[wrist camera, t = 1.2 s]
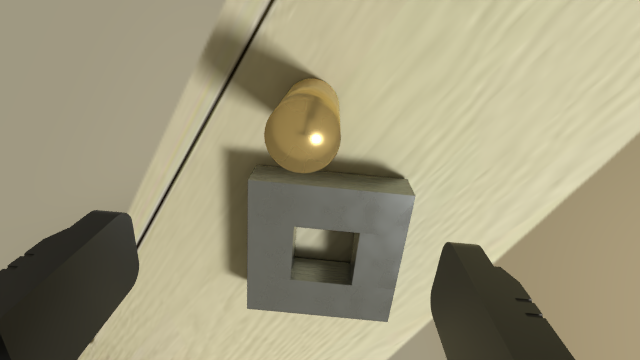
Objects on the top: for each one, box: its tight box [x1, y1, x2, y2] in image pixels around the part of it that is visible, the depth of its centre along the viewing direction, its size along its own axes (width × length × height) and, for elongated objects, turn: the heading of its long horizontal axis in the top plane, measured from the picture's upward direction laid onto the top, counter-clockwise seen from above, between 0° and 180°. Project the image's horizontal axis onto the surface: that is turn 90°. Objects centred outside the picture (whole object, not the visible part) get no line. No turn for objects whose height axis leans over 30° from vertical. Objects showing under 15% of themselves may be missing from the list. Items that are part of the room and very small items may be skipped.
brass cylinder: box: [264, 79, 341, 173], centre depth 22 cm, size 4×4×8 cm
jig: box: [247, 165, 415, 322], centre depth 28 cm, size 12×12×3 cm
